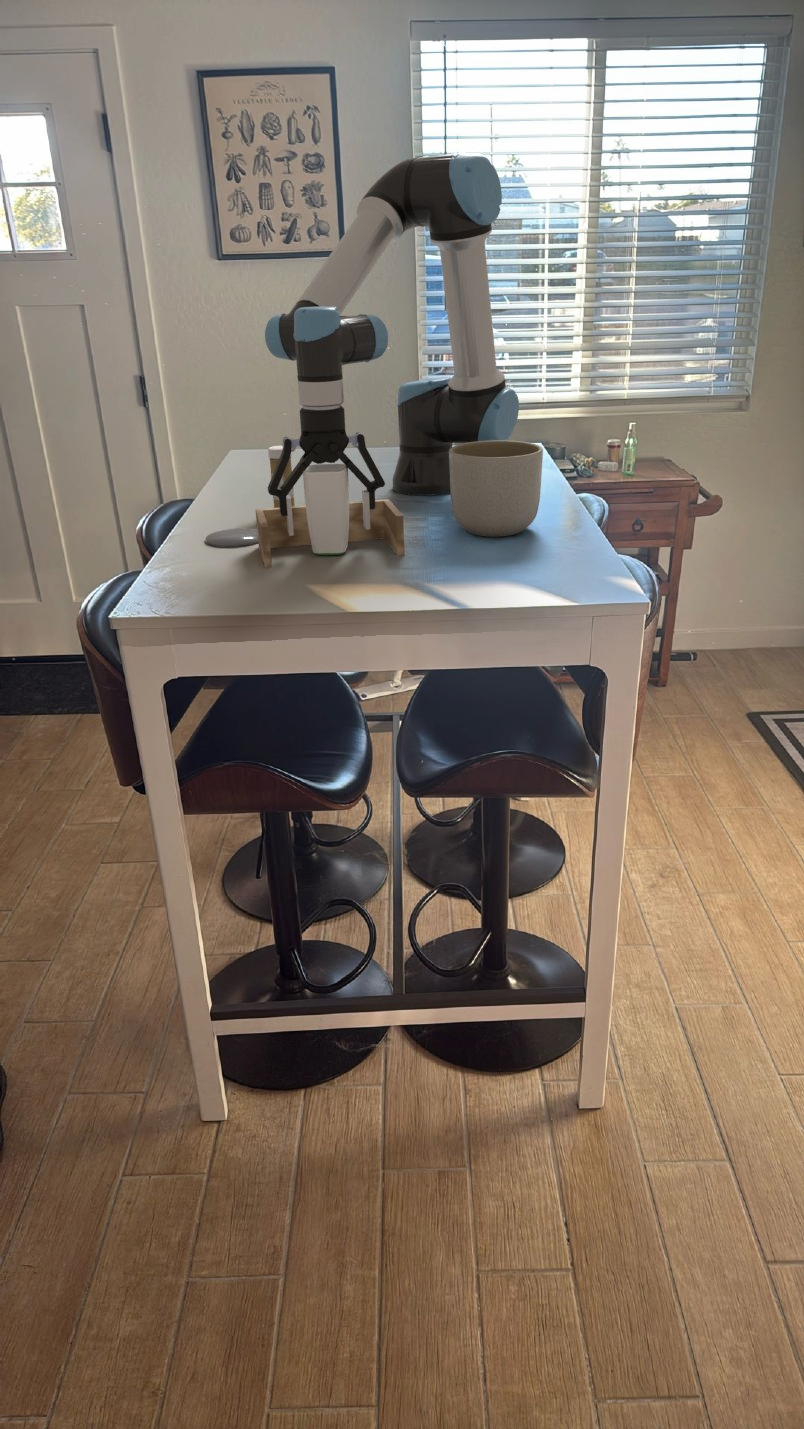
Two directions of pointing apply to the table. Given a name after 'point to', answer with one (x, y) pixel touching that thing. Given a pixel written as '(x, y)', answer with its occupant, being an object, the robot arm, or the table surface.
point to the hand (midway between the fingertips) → (329, 530)
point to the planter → (495, 486)
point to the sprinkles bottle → (274, 458)
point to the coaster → (233, 538)
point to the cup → (327, 507)
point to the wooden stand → (382, 526)
